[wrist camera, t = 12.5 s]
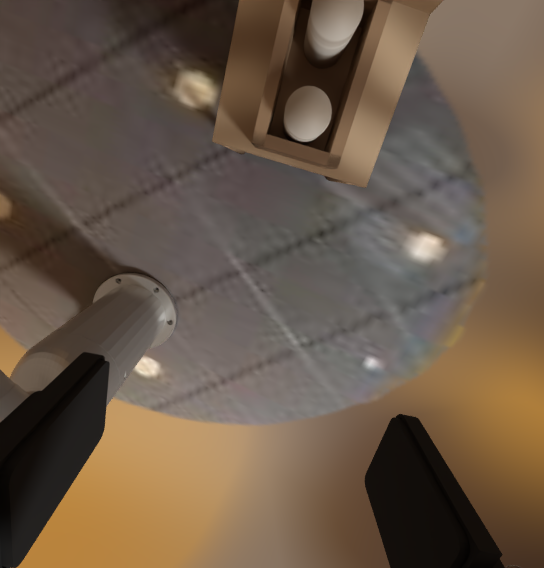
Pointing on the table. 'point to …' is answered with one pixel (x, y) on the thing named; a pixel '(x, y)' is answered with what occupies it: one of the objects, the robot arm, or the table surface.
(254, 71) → the tan flanged panel
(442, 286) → the table surface
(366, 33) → the tray
